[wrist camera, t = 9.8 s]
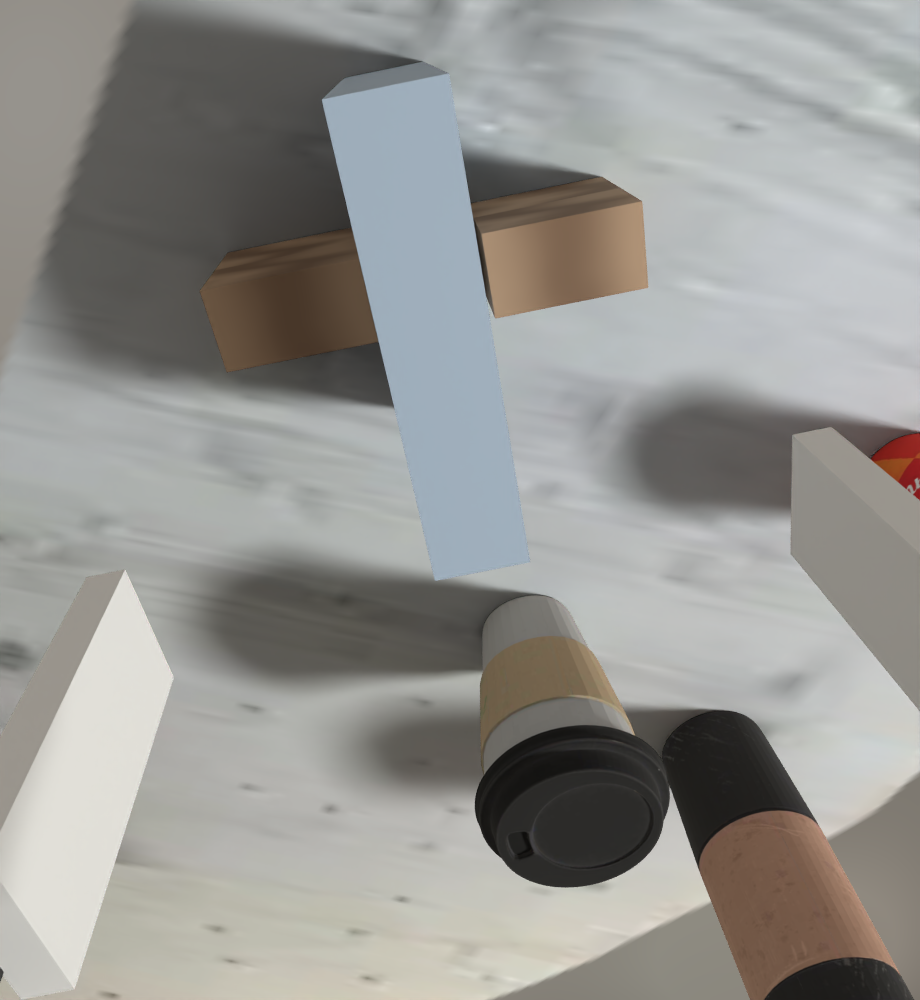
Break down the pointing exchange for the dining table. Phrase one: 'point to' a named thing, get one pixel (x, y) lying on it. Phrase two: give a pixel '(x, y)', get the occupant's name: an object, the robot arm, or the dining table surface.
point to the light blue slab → (430, 309)
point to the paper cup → (902, 461)
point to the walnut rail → (503, 256)
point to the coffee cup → (560, 754)
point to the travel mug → (772, 870)
